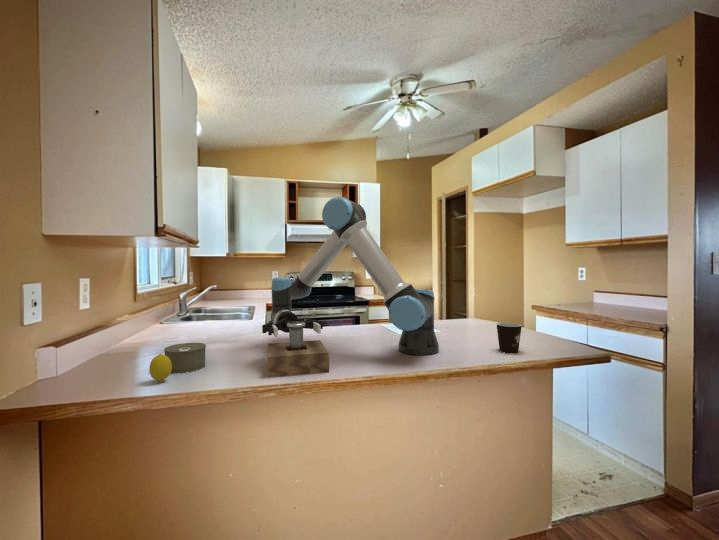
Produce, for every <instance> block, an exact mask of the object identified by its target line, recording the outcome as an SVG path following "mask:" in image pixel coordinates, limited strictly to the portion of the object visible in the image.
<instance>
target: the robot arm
mask: <svg viewBox="0 0 719 540" xmlns="http://www.w3.org/2000/svg"><path fill="white" fill-rule="evenodd" d="M366 213H367V212H366V211H365V208H364V207H363V206H362V205H361V204H359V203H357V202H354V201H352V200H349V199H348V198H347V197H341V196H336V197H333V198H330V199H329V200H328V201H326V203H325V204H324V206H323V208H322V213H321V218H322V221H323V222H322V223H323V224H324V225H325V226H326V228H328V229H330V230H332V233H330V235H329V236H328V237H327V238H326V240H324V242H323V244H322V245H321V246H320V247H319V248H318V250H317V251H316V253H315V254H314V255H313V256H312V258H311V259H310V260H309V261H308V262H307V263H306V265H305V266H304V268H302V270H301V271H300V273H299V274H298V275H297V277H295V279H294V280H293V281H292V279H291V277H288V276H287V277H286V276H285V277H284V276H281V277H274V278H272V279H271V288H270V289H271V312H270V320H269V321H268V322H266V323H265V324H262V325H261V329H262V332H261V333H262V334H268V336H272V335H273V337H274V338H278V337H279V336H278V335H279V334H278V333H279V332H278V331H281V332H283V333H288V334H289V327H287V323H289V322H305V327H303V329H308V330H310V329H311V330H313V332H316V334H318V335H319V334H321V330H323V329H324V321H322V320H319V319H311V318H308V317H307V318H306V317H305V318H304V320H303V319H302V318H298V316H297V315H296V314H295V313H294V312H292V300H297V299H304V298H306V297H308V296H310V294H311V293H312V287H313V286H314V285H315V283H316V282H318V280H319V279H320V277H321V276H322V275H323V274H324V273H325V272H326V270H327V269H328V268H329V266H330V265H331V264H332V263H333V262H334V261H335V259H336V258H337V257H338V256H339V254H340V253H341V252H342V251H343V249H344V248H345V247H346V246H347V245H348V246H349V247H350V249H351V250H352V251H353V253H354V254H355V256H356V258H357V259H358V261H359V263H361V265H362V266H363V267H364V269H365V271H366V272H367V274H368V275H369V276H370V278H371V280H372V281H373V283H374V284H375V285H376V287H377V288H378V289H379V291H380V292H381V294H382V296H383V298H384V299H383V304H384V306H385V308H386V309H387V311H388V318H389V320H390V322H391V323H392V324H393V325H394V327H395V328H397V329H399V330H401V331H402V332H401V335H400V338H399V341H398V345H397V347H398V348H397V349H398V352H401V353H403V354H407V355H411V356H416V355H417V356H427V355H434V354H437V353H439V351H440V345H439V340H438V339H437V335H436V332H435V293H434V291H433V290H431V289H419V288H415V287H414V286H413V285H412V283H408V282H405V281H404V279H403V278H402V276H401V275H400V273H399V272H398V271H397V269H396V268H395V266H394V265H393V264H392V262H391V261H390V259H388V257H387V255H386V254H385V252H384V251H383V250H382V249H381V246H379V244H378V243H377V241H376V240H375V239H374V237H373V235H372V234H371V233H370V231H369V229H367V227H368V226H367V225H368V221H367V214H366Z"/></svg>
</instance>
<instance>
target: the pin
mask: <svg viewBox="0 0 719 540" xmlns="http://www.w3.org/2000/svg"><path fill="white" fill-rule="evenodd" d="M287 327H289V333H288V335H289V336H288V337H289V338H288V339H289V340H288V342H289V348H290V351H293V350H303V341H304V328H303V327H305V322H289V323H287Z"/></svg>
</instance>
